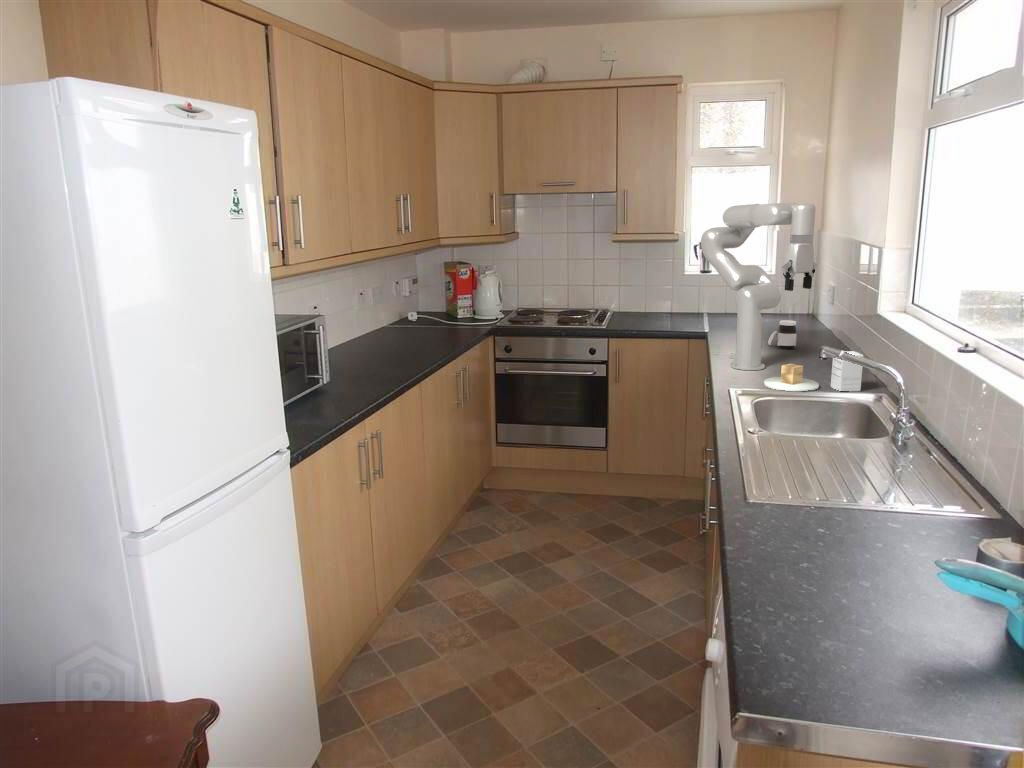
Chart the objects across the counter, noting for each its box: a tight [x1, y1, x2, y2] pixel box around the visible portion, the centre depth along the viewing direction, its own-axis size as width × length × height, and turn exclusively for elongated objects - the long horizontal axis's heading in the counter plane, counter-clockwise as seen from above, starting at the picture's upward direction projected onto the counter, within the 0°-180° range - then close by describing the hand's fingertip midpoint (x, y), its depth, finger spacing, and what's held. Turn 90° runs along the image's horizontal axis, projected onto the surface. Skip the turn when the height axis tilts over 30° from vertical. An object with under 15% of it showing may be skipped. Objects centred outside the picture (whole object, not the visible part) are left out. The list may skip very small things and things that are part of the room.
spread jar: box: [767, 319, 798, 350], centre depth 333 cm, size 12×11×12 cm
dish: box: [763, 376, 820, 392], centre depth 267 cm, size 18×18×1 cm
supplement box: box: [830, 350, 864, 392], centre depth 260 cm, size 7×7×13 cm
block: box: [780, 363, 804, 385], centre depth 266 cm, size 5×5×6 cm
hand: (798, 289), depth 269 cm, fingers open, 9 cm apart
